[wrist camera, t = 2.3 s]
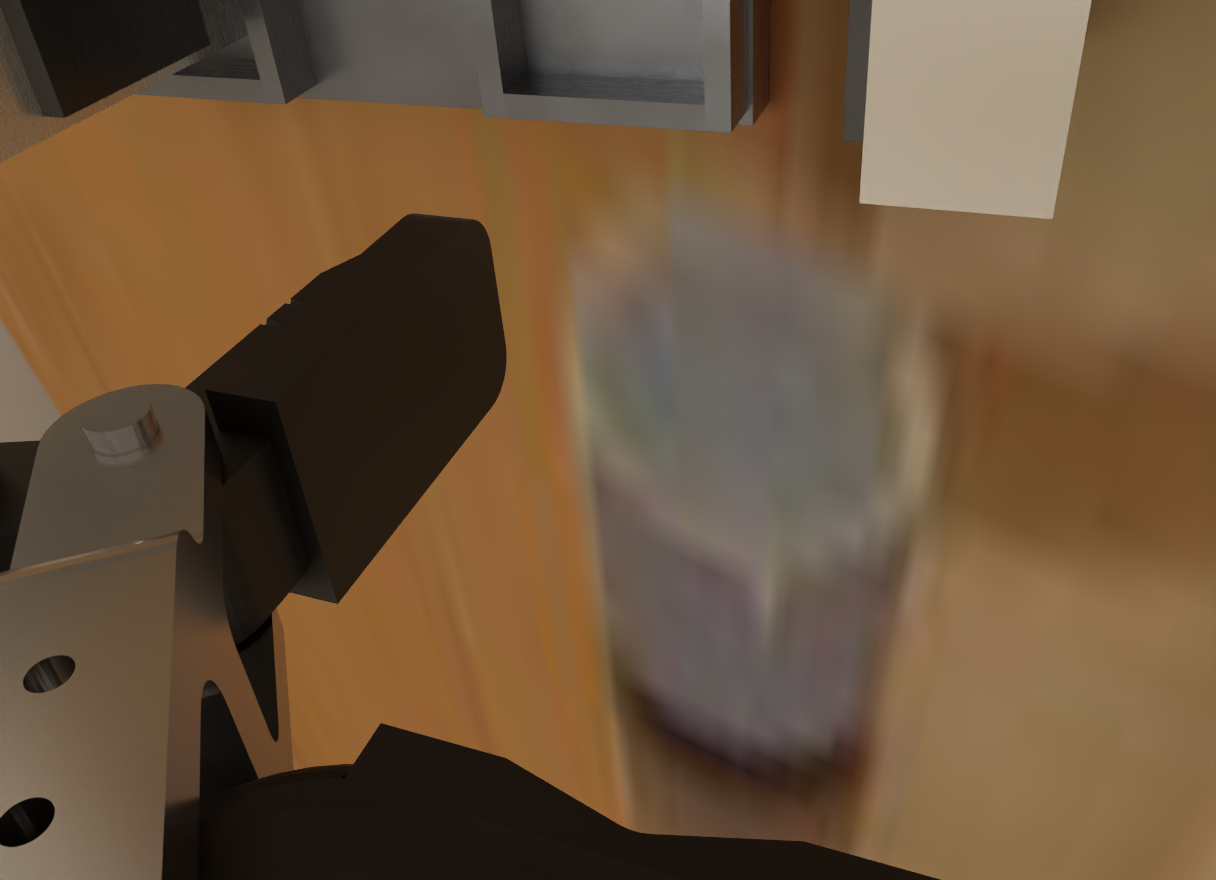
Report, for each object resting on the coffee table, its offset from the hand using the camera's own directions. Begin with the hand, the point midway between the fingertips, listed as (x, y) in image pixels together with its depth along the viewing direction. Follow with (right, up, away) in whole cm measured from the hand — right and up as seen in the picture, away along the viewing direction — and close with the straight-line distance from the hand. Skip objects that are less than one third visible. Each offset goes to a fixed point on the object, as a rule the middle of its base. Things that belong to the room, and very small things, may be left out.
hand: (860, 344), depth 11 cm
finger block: (+6, +10, +12) cm, 17 cm away
